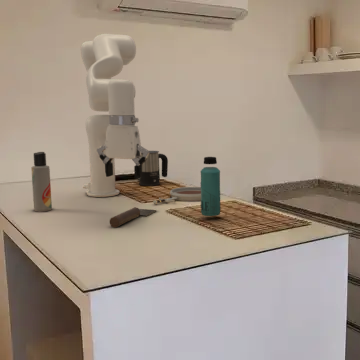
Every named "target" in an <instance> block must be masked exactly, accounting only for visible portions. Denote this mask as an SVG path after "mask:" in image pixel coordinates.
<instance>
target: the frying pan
mask: <svg viewBox="0 0 360 360" xmlns="http://www.w3.org/2000/svg"><path fill="white" fill-rule="evenodd" d="M169 195H170V197H169V198H161V197H158V200H156V199H154V200H153V202H152V204H153V205H156V206H157V204H160V203H163V202H164V203H173V204H175V203H176V202H175V200H176V201H180V202H201V186H181V187H176V188H172V189H170V191H169Z"/></svg>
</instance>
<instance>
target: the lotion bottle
mask: <svg viewBox="0 0 360 360" xmlns="http://www.w3.org/2000/svg"><path fill="white" fill-rule="evenodd" d="M46 155H47V154H46V153H45V151H37V152H33V166H31V182H32V184H31V185H32V200H33V211H34V212H37V213H39V212H40V213H42V212H43V213H44V212H49V211H52V209H53V205H52V202H53V201H52V187H51V169H50V166H49V165H47V156H46Z"/></svg>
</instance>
